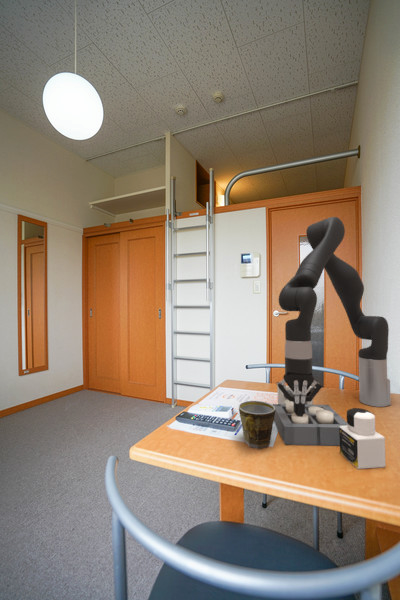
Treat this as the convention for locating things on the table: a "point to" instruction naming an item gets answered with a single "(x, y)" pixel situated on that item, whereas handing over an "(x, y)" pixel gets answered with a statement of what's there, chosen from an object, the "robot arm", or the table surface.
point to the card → (283, 399)
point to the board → (308, 428)
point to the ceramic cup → (257, 423)
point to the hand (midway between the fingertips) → (299, 415)
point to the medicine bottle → (362, 440)
